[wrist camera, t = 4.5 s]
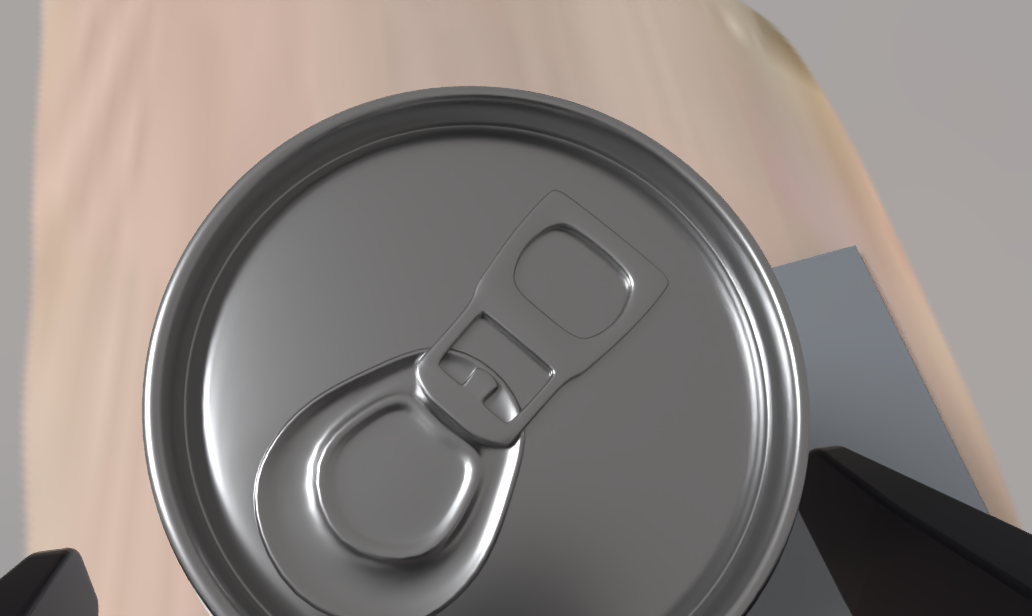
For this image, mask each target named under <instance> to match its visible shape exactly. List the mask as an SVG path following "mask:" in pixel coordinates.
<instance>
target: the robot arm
mask: <svg viewBox="0 0 1032 616" xmlns="http://www.w3.org/2000/svg"><path fill="white" fill-rule="evenodd" d="M798 510H799V513H800V515H801V517H802V519H803V521H804V523H805V525H806V527H807V529H808V531H809V533H810V535H811V537H812V539H813V541H814V543H815V545H816V547H817V549H818V551H819V553H820V555H821V557H822V559H823V561H824V563H825V564H826V566H827V568H828V570H829V572H830V574H831V576H832V578H833V580H834V582H835V584H836V586H837V588H838V590H839V592H840V594H841V596H842V598H843V600H844V602H845V604H846V605H847V607H848V609H849V611H850V613H851V615H852V616H1032V534H1029V533H1027V532H1025V531H1023V530H1021V529H1019V528H1017V527H1015V526H1012V525H1010V524H1008V523H1006V522H1004V521H1002V520H1000V519H997V518H995V517H993V516H991V515H989V514H987V513H985V512H982V511H980V510H978V509H976V508H974V507H972V506H970V505H968V504H965V503H963V502H961V501H959V500H957V499H955V498H953V497H950V496H948V495H946V494H944V493H942V492H940V491H938V490H936V489H933V488H931V487H929V486H927V485H925V484H923V483H921V482H918V481H916V480H914V479H912V478H910V477H908V476H906V475H904V474H901V473H899V472H897V471H895V470H893V469H891V468H889V467H886V466H884V465H882V464H880V463H878V462H876V461H874V460H872V459H869V458H867V457H865V456H863V455H861V454H859V453H857V452H854V451H852V450H850V449H848V448H846V447H843V446H839V445H834V446H826V447H819V448H814V449H812V450H811V451H810V452H809V455H808V464H807V471H806V477H805V483H804V488H803V493H802V497H801V501H800V505H799V509H798ZM0 616H98V600H97V596H96V593H95V591H94V588H93V586H92V583H91V580H90V578H89V575H88V573H87V570H86V567H85V565H84V562H83V560H82V557H81V555H80V554H79V552H78V551H77V550H75V549H72V548H63V549H55V550H48V551H41V552H36V553H33V554H31V555H29V556H28V557H26V558H25V559H24V560H22V561H21V562H20V563H19V564H18V565H16V566H15V567H14V568H13V569H12V570H10V571H9V572H8V573H7V574H6V575H4V576H3V577H2V578H1V579H0Z"/></svg>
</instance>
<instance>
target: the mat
mask: <svg viewBox="0 0 1032 616" xmlns="http://www.w3.org/2000/svg"><path fill="white" fill-rule="evenodd" d="M772 270H773V272H774V274H775V276H776V278H777V280H778V282H779V284H780V286H781V289H782V291H783V293H784V296H785V298H786V300H787V303H788V305H789V308H790V311H791V314H792V317H793V320H794V323H795V326H796V329H797V333H798V336H799V340H800V344H801V348H802V353H803V357H804V362H805V368H806V374H807V382H808V390H809V403H810V442H809V452H810V451H811V450H812V449H814V448H819V447H826V446H834V445H839V446H843V447H846V448H848V449H850V450H852V451H854V452H857V453H859V454H861V455H863V456H865V457H867V458H869V459H872V460H874V461H876V462H878V463H880V464H882V465H884V466H886V467H889V468H891V469H893V470H895V471H897V472H899V473H901V474H904V475H906V476H908V477H910V478H912V479H914V480H916V481H918V482H921V483H923V484H925V485H927V486H929V487H931V488H933V489H936V490H938V491H940V492H942V493H944V494H946V495H948V496H950V497H953V498H955V499H957V500H959V501H961V502H963V503H965V504H968V505H970V506H972V507H974V508H976V509H978V510H980V511H982V512H985V513H987V514H989V513H988V511H987V509H986V507H985V505H984V503H983V501H982V499H981V497H980V495H979V493H978V491H977V489H976V487H975V485H974V483H973V481H972V479H971V477H970V475H969V473H968V471H967V469H966V467H965V465H964V463H963V461H962V459H961V457H960V455H959V453H958V451H957V449H956V446H955V444H954V442H953V440H952V438H951V436H950V434H949V432H948V430H947V428H946V426H945V424H944V422H943V420H942V418H941V416H940V414H939V412H938V410H937V408H936V406H935V404H934V402H933V400H932V398H931V396H930V394H929V392H928V390H927V388H926V386H925V384H924V382H923V380H922V378H921V376H920V374H919V372H918V370H917V368H916V366H915V364H914V362H913V360H912V358H911V356H910V354H909V352H908V350H907V348H906V346H905V344H904V342H903V340H902V338H901V336H900V334H899V332H898V330H897V328H896V326H895V324H894V322H893V320H892V318H891V316H890V314H889V312H888V310H887V308H886V306H885V304H884V302H883V300H882V298H881V296H880V294H879V292H878V290H877V288H876V286H875V284H874V282H873V280H872V278H871V276H870V274H869V272H868V270H867V268H866V266H865V264H864V262H863V260H862V258H861V256H860V254H859V252H858V250H857V248H856V246H852V247H848V248H844V249H841V250H837V251H833V252H830V253H826V254H822V255H819V256H815V257H811V258H808V259H804V260H800V261H796V262H793V263H789V264H785V265H782V266H778V267H774V268H772ZM747 616H852V615H851V613H850V611H849V609H848V607H847V605H846V604H845V602H844V600H843V598H842V596H841V594H840V592H839V590H838V588H837V586H836V584H835V582H834V580H833V578H832V576H831V574H830V572H829V570H828V568H827V566H826V564H825V563H824V561H823V559H822V557H821V555H820V553H819V551H818V549H817V547H816V545H815V543H814V541H813V539H812V537H811V535H810V533H809V531H808V529H807V527H806V525H805V523H804V521H803V519H802V517H801V515H800V513H799V510H798V513H797V516H796V519H795V522H794V525H793V529H792V531H791V534H790V537H789V539H788V542H787V545H786V547H785V549H784V552H783V554H782V556H781V559H780V561H779V563H778V565H777V567H776V569H775V571H774V573H773V575H772V577H771V578H770V580H769V582H768V584H767V585H766V587H765V589H764V591H763V592H762V594H761V595H760V597H759V599H758V600H757V602H756V603H755V605H754V606H753V608H752V609H751V610H750V612H749V613H748V615H747Z"/></svg>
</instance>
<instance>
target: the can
mask: <svg viewBox="0 0 1032 616" xmlns="http://www.w3.org/2000/svg"><path fill="white" fill-rule="evenodd" d="M142 425H143V440H144V450H145V458H146V464H147V470H148V475H149V480H150V484H151V489H152V493H153V496H154V500H155V503H156V507H157V510H158V513H159V516H160V519H161V522H162V525H163V528H164V530H165V532H166V535H167V537H168V540H169V542H170V545H171V547H172V549H173V551H174V553H175V555H176V557H177V559H178V561H179V563H180V565H181V567H182V569H183V571H184V573H185V574H186V576H187V578H188V580H189V581H190V583H191V585H192V587H193V588H194V590H195V592H196V594H197V596H198V597H199V599H200V601H201V602H202V604H203V606H204V607H205V609H206V610H207V612H208V613H209V615H210V616H747V615H748V613H749V612H750V610H751V609H752V608H753V606H754V605H755V603H756V602H757V600H758V599H759V597H760V595H761V594H762V592H763V591H764V589H765V587H766V585H767V584H768V582H769V580H770V578H771V577H772V575H773V573H774V571H775V569H776V567H777V565H778V563H779V561H780V559H781V556H782V554H783V552H784V549H785V547H786V545H787V542H788V539H789V537H790V534H791V531H792V529H793V525H794V522H795V519H796V516H797V513H798V509H799V505H800V501H801V497H802V493H803V488H804V483H805V477H806V471H807V464H808V455H809V442H810V403H809V390H808V382H807V374H806V368H805V362H804V357H803V353H802V348H801V344H800V340H799V336H798V333H797V329H796V326H795V323H794V320H793V317H792V314H791V311H790V308H789V305H788V303H787V300H786V298H785V296H784V293H783V291H782V289H781V286H780V284H779V282H778V280H777V278H776V276H775V274H774V272H773V270H772V268H771V266H770V264H769V262H768V261H767V259H766V257H765V255H764V254H763V252H762V250H761V249H760V247H759V245H758V244H757V242H756V241H755V239H754V238H753V236H752V235H751V233H750V232H749V230H748V229H747V228H746V226H745V225H744V224H743V222H742V221H741V220H740V218H739V217H738V216H737V215H736V213H735V212H734V211H733V210H732V208H731V207H730V206H729V205H728V204H727V203H726V201H725V200H724V199H723V198H722V197H721V196H720V195H719V194H718V193H717V192H716V191H715V190H714V189H713V188H712V187H711V186H710V185H709V184H708V183H707V182H706V181H705V180H704V179H703V178H702V177H701V176H700V175H699V174H698V173H697V172H695V171H694V170H693V169H692V168H691V167H690V166H688V165H687V164H686V163H685V162H684V161H682V160H681V159H680V158H679V157H677V156H676V155H674V154H673V153H672V152H670V151H669V150H668V149H666V148H665V147H663V146H662V145H660V144H659V143H658V142H656V141H654V140H653V139H651V138H650V137H648V136H646V135H645V134H643V133H641V132H640V131H638V130H636V129H634V128H632V127H631V126H629V125H627V124H625V123H623V122H621V121H619V120H617V119H615V118H612V117H610V116H608V115H606V114H603V113H601V112H599V111H596V110H594V109H591V108H588V107H586V106H583V105H580V104H577V103H574V102H571V101H568V100H564V99H561V98H557V97H553V96H549V95H545V94H540V93H535V92H530V91H524V90H518V89H510V88H501V87H486V86H454V87H440V88H430V89H422V90H416V91H410V92H404V93H400V94H395V95H391V96H387V97H383V98H380V99H376V100H373V101H370V102H366V103H363V104H360V105H358V106H355V107H352V108H349V109H347V110H345V111H342V112H340V113H337V114H335V115H333V116H331V117H329V118H326V119H324V120H322V121H320V122H318V123H316V124H315V125H313V126H311V127H309V128H307V129H305V130H304V131H302V132H300V133H299V134H297V135H295V136H294V137H292V138H291V139H289V140H287V141H286V142H284V143H283V144H282V145H280V146H279V147H277V148H276V149H275V150H273V151H272V152H270V153H269V154H268V155H267V156H265V157H264V158H263V159H262V160H260V161H259V162H258V163H257V164H256V165H254V166H253V167H252V168H251V169H250V170H249V171H248V172H247V173H245V174H244V175H243V176H242V177H241V178H240V179H239V180H238V181H237V182H236V183H235V184H234V185H233V186H232V187H231V188H230V189H229V190H228V191H227V193H226V194H225V195H224V196H223V197H222V198H221V199H220V201H219V202H218V203H217V204H216V205H215V207H214V208H213V209H212V210H211V212H210V213H209V214H208V215H207V217H206V218H205V220H204V221H203V222H202V224H201V225H200V227H199V228H198V229H197V231H196V233H195V234H194V236H193V237H192V239H191V240H190V242H189V244H188V245H187V247H186V249H185V250H184V252H183V254H182V256H181V258H180V260H179V262H178V263H177V265H176V267H175V269H174V271H173V274H172V276H171V278H170V280H169V283H168V285H167V287H166V290H165V292H164V295H163V298H162V300H161V303H160V306H159V309H158V312H157V315H156V318H155V322H154V326H153V329H152V333H151V338H150V342H149V347H148V352H147V358H146V364H145V372H144V381H143V396H142Z"/></svg>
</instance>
